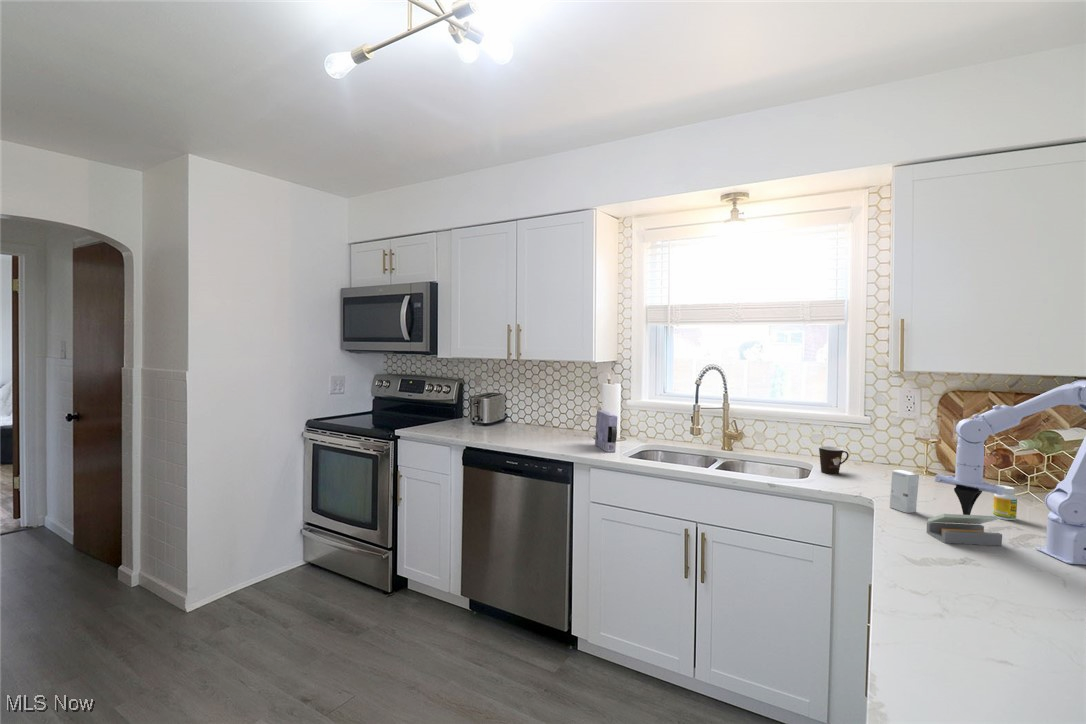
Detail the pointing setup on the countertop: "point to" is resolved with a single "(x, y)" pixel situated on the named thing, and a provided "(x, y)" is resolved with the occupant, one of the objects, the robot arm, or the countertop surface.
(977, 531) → the tall wooden block
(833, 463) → the coffee mug
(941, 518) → the cover
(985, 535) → the grey open tray
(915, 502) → the skincare box
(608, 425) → the cake pan box
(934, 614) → the countertop surface
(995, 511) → the supplement bottle
